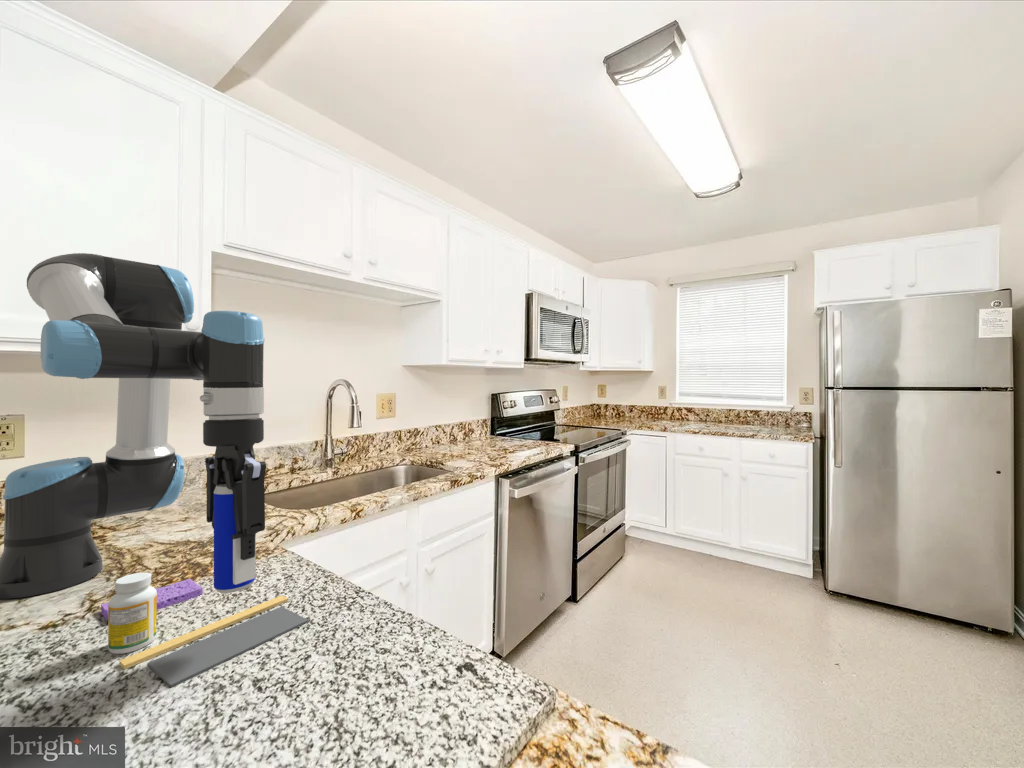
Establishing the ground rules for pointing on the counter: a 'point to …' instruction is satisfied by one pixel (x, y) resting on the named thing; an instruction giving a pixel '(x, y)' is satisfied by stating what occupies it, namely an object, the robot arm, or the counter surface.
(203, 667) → the mat
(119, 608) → the supplement bottle
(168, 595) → the sponges
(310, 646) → the counter surface
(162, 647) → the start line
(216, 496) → the beverage can
